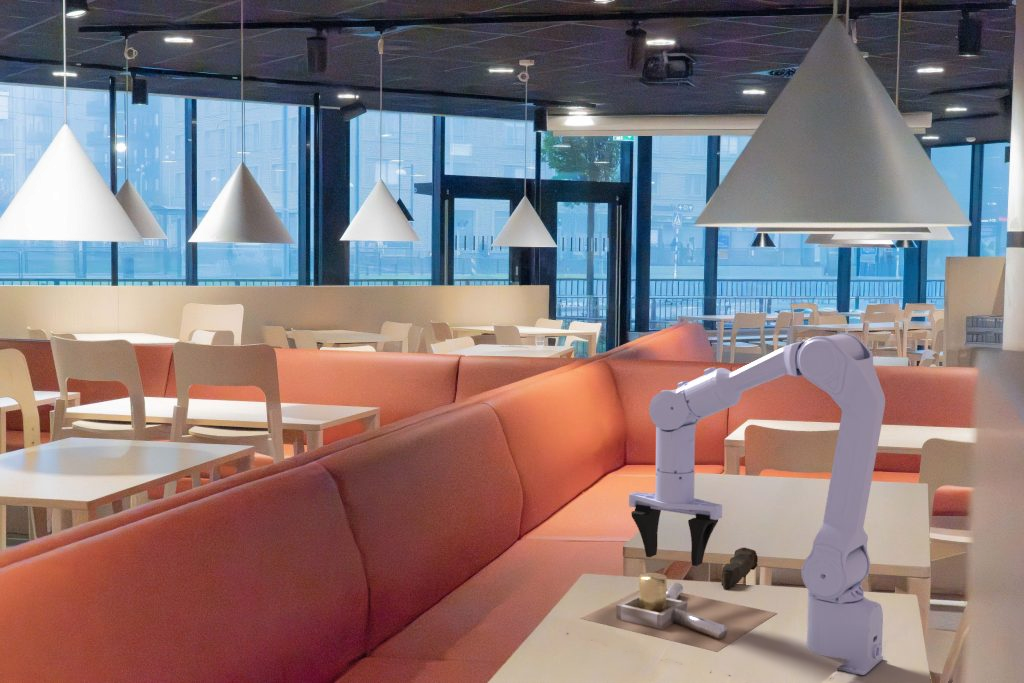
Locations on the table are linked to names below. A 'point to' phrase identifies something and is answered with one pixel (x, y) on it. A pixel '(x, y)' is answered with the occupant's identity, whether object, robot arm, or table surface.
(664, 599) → the brass cylinder
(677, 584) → the shaft
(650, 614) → the plate
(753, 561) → the hand tool
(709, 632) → the shaft
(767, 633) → the table surface
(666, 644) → the table surface
